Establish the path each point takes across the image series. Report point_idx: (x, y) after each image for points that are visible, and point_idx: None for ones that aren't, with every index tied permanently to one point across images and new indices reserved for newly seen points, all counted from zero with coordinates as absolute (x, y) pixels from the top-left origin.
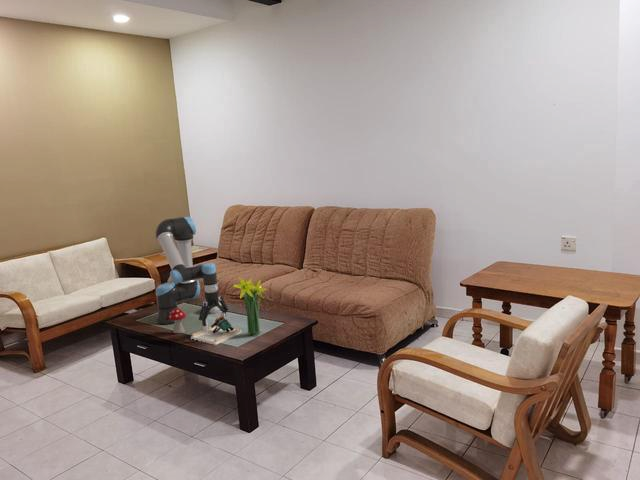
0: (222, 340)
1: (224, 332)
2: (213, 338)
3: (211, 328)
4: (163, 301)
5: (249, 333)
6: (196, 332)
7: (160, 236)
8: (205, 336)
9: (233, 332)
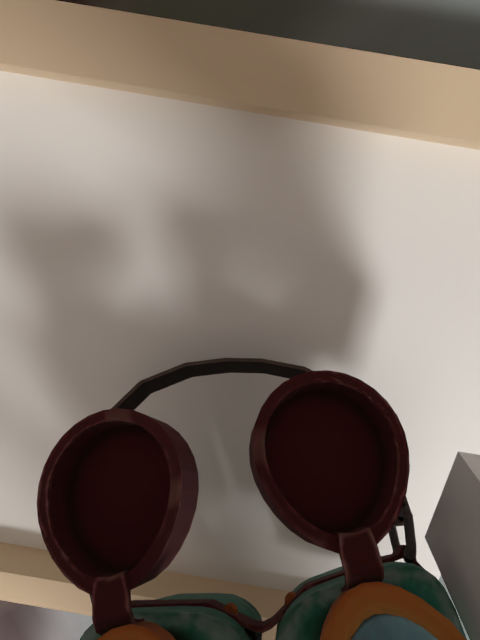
0: None
1: None
2: (24, 467)
3: (410, 135)
4: None
5: None
6: (9, 10)
7: None
8: (32, 294)
9: (268, 636)
